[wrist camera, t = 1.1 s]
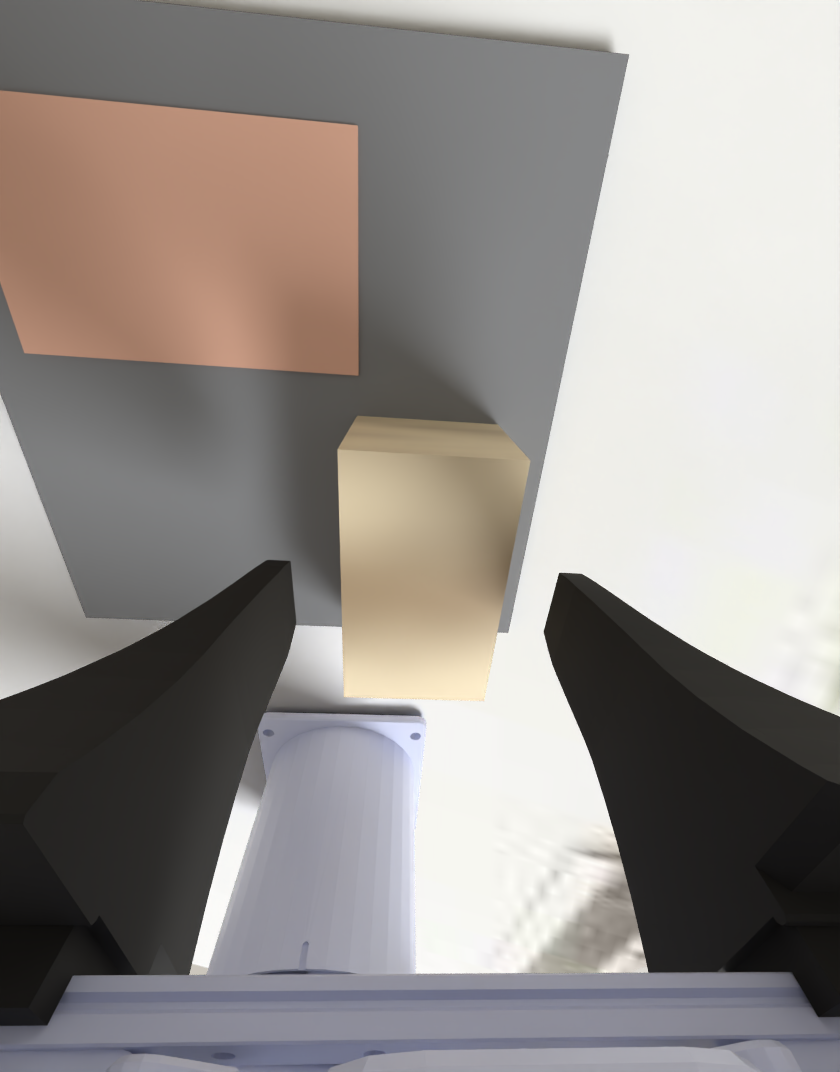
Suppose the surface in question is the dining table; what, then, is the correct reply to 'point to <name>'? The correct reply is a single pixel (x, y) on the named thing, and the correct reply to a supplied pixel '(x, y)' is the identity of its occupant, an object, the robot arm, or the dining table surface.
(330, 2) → the dining table surface
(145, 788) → the robot arm
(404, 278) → the rubber mat
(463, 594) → the tall beige wooden block
